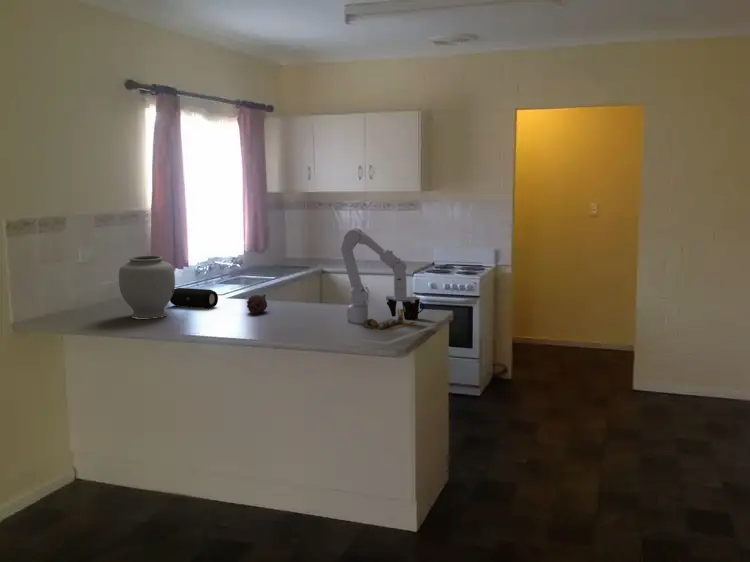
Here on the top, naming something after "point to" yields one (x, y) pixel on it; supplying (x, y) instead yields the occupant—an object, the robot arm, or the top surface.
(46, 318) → the top surface
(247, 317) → the top surface
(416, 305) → the coffee mug
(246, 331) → the top surface
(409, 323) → the board
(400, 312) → the lever
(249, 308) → the pine cone
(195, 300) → the portable speaker
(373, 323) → the walnut
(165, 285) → the grey ceramic vase
